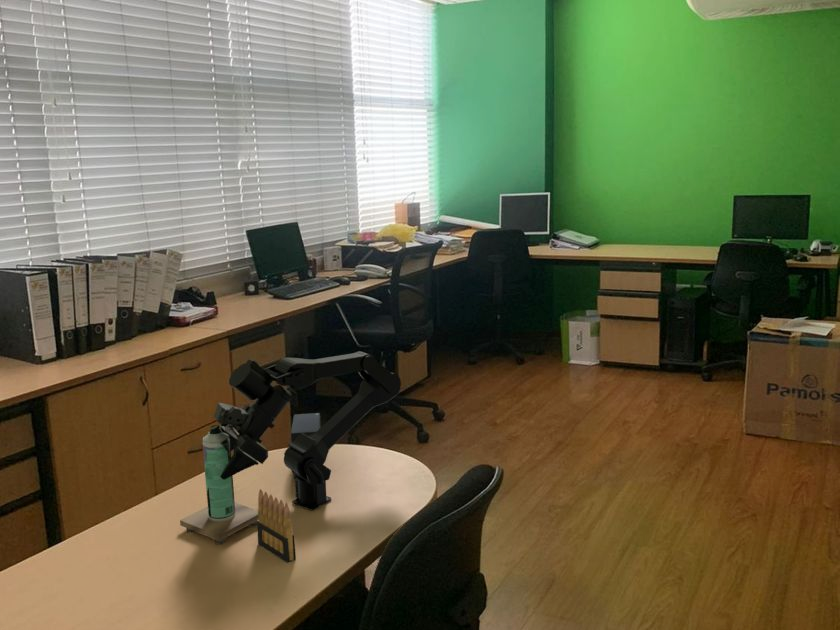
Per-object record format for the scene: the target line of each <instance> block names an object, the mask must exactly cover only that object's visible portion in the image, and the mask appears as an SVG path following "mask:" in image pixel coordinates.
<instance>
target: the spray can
mask: <svg viewBox="0 0 840 630" xmlns="http://www.w3.org/2000/svg"><path fill="white" fill-rule="evenodd" d="M219 425H220V424H214V425H211V426H210V431H208V433H207V435H205V436H203V437H202V450H203V451H202V454H203V462H204V463H203V465H204V476H205V489H206V499H207V501H206V502H207V507H208V513H209V519H210V520H211V521H214V522H224V521H228V520H230V519H232V518H233V517H234V516H235V503H236V501H235V491H234V490H235V489H234V478H233V476H234V475H233V476H231V477H229V478H227V479H225V480H223V479H222V478H221V477H220V476H221V474H222V472H223V470H224V469H225V467H226V466H227V464H228V462H229V461H230V459H231V458H232V453H231V452H232V451H231V449H230V439H229V435H228V434H226V433H223V432H222V431H221V430H220V429H219Z"/></svg>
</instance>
